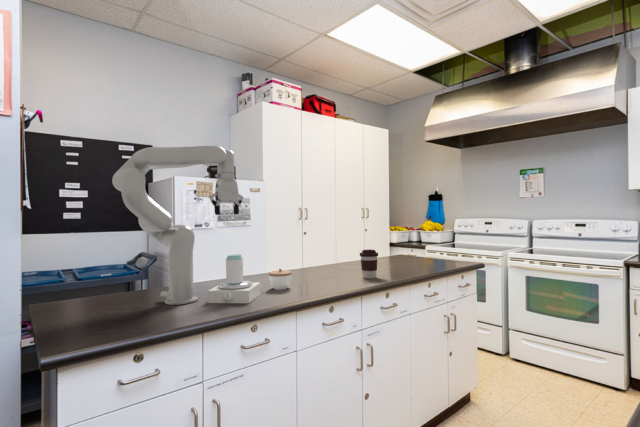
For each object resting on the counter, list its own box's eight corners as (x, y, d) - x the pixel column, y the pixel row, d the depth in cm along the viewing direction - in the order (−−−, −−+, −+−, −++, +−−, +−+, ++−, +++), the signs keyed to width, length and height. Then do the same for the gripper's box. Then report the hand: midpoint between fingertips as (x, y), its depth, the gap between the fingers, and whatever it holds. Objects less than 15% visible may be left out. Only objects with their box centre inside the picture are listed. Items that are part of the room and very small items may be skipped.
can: (243, 284, 146) (242, 255, 146) (225, 285, 144) (225, 256, 145) (243, 281, 153) (242, 253, 153) (226, 282, 151) (226, 254, 151)
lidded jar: (265, 290, 164) (264, 270, 164) (276, 285, 174) (275, 266, 174) (285, 291, 160) (284, 270, 160) (295, 286, 170) (295, 267, 170)
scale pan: (212, 289, 142) (212, 286, 142) (225, 282, 156) (225, 280, 156) (246, 289, 141) (246, 286, 141) (256, 282, 155) (256, 280, 155)
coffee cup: (380, 279, 185) (379, 250, 186) (361, 279, 186) (360, 251, 186) (377, 275, 195) (376, 249, 195) (359, 276, 195) (358, 249, 196)
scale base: (207, 303, 140) (207, 291, 140) (223, 293, 158) (223, 282, 158) (248, 303, 139) (248, 291, 139) (260, 293, 156) (260, 282, 156)
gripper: (213, 175, 153) (214, 214, 153) (246, 177, 165) (247, 214, 165) (204, 177, 158) (205, 215, 158) (237, 179, 170) (238, 214, 170)
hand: (227, 214), depth 162 cm, fingers open, 9 cm apart
